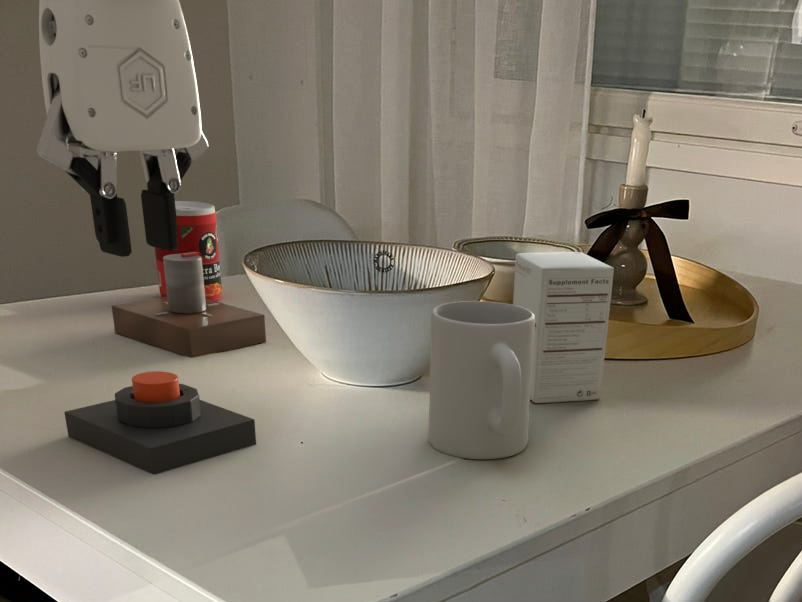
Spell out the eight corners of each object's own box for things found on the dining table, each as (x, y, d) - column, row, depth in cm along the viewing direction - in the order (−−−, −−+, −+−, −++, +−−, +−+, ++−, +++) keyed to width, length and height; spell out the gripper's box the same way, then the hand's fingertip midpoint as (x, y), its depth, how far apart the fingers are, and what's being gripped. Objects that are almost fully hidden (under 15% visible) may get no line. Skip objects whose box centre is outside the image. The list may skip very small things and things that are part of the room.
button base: (68, 437, 85) (60, 389, 83) (169, 411, 92) (164, 367, 90) (154, 475, 79) (147, 425, 77) (256, 444, 86) (253, 397, 84)
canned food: (192, 307, 126) (182, 212, 121) (146, 298, 130) (135, 204, 124) (236, 297, 132) (229, 206, 127) (191, 288, 136) (182, 199, 130)
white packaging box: (506, 382, 104) (513, 251, 98) (573, 378, 106) (584, 250, 100) (531, 404, 98) (541, 266, 92) (602, 400, 100) (616, 265, 94)
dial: (183, 315, 110) (177, 259, 107) (161, 308, 112) (154, 253, 110) (213, 310, 113) (209, 254, 110) (191, 303, 115) (186, 249, 112)
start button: (125, 398, 83) (122, 376, 82) (162, 389, 86) (160, 368, 85) (151, 408, 81) (149, 386, 81) (189, 399, 84) (187, 377, 83)
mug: (416, 430, 90) (417, 302, 85) (506, 423, 93) (513, 298, 87) (459, 479, 81) (464, 338, 75) (559, 470, 83) (570, 333, 78)
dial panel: (114, 332, 115) (110, 303, 113) (189, 319, 121) (186, 291, 120) (191, 358, 107) (188, 327, 106) (266, 342, 114) (264, 313, 112)
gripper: (17, -50, 61) (67, 272, 70) (239, -29, 72) (257, 246, 81) (-45, -49, 65) (10, 255, 74) (174, -29, 76) (198, 233, 85)
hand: (139, 248), depth 78 cm, fingers open, 3 cm apart
